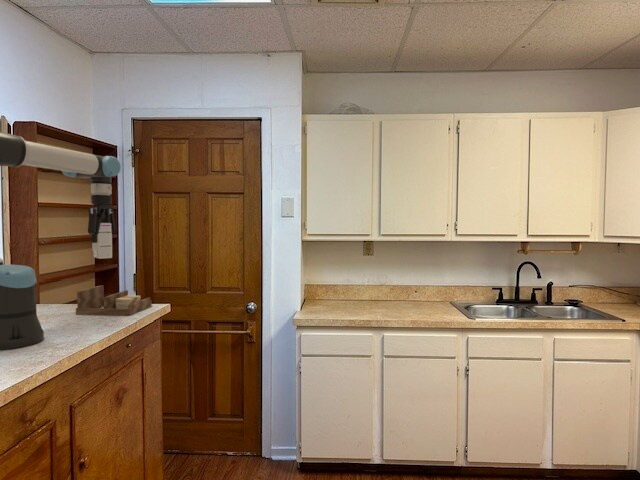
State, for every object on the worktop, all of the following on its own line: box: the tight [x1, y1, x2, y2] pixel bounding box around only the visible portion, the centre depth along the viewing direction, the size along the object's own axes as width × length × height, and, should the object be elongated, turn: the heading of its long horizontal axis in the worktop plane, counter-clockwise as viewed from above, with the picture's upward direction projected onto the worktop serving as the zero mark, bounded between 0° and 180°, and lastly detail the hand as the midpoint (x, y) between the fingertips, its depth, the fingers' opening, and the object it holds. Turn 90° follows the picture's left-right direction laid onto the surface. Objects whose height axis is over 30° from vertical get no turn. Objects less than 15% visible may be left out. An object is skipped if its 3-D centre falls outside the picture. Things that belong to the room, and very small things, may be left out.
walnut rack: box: [75, 284, 153, 317], centre depth 173 cm, size 18×22×9 cm
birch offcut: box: [116, 294, 142, 307], centre depth 172 cm, size 8×6×3 cm
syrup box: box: [92, 222, 113, 260], centre depth 172 cm, size 6×6×14 cm
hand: (102, 250), depth 172 cm, fingers closed on syrup box, 8 cm apart
